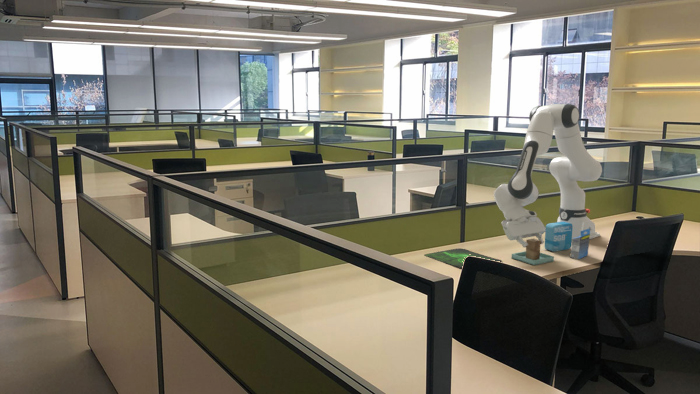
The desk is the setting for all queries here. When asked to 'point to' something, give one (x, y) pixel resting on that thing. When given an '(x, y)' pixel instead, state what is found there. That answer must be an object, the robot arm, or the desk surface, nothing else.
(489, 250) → the desk surface
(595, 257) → the desk surface
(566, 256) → the desk surface
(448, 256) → the mouse mat
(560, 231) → the blue soap box
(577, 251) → the label tape box
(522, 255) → the teal tray
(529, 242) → the walnut block
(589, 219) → the robot arm
